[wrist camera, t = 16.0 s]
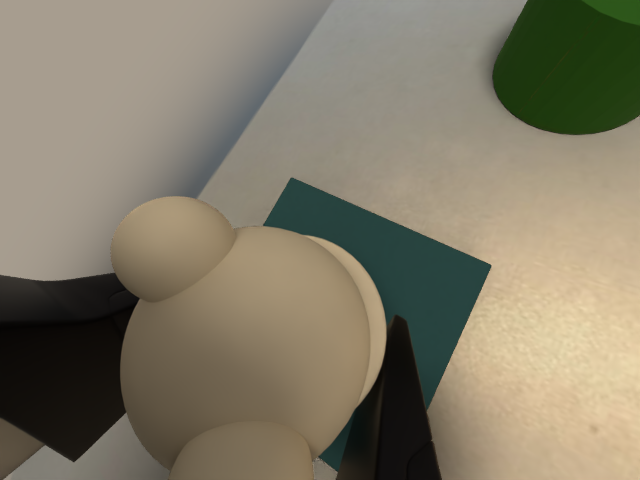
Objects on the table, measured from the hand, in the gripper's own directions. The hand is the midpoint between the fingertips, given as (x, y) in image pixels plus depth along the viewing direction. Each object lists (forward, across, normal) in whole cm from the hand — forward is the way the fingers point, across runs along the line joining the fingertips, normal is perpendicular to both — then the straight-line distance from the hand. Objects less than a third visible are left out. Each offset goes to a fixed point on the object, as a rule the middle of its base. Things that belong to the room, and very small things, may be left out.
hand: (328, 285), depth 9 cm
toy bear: (+2, 0, +4) cm, 4 cm away
